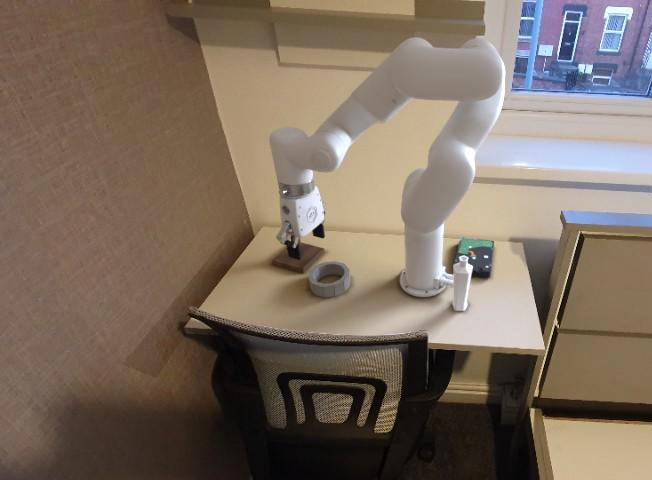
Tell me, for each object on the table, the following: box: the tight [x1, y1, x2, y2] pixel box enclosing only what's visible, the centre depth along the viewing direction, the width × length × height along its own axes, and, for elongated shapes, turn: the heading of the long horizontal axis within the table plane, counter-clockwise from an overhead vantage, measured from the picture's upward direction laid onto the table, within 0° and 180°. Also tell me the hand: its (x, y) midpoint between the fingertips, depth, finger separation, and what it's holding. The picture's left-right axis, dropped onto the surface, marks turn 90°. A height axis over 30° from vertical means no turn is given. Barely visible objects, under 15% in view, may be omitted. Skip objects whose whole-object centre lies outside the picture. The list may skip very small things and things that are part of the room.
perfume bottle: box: [451, 255, 473, 312], centre depth 94 cm, size 5×4×15 cm
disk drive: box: [453, 236, 495, 279], centre depth 113 cm, size 10×3×15 cm
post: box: [271, 231, 326, 274], centre depth 109 cm, size 10×10×9 cm
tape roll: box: [307, 260, 351, 298], centre depth 102 cm, size 10×10×4 cm
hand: (307, 247), depth 98 cm, fingers open, 9 cm apart
